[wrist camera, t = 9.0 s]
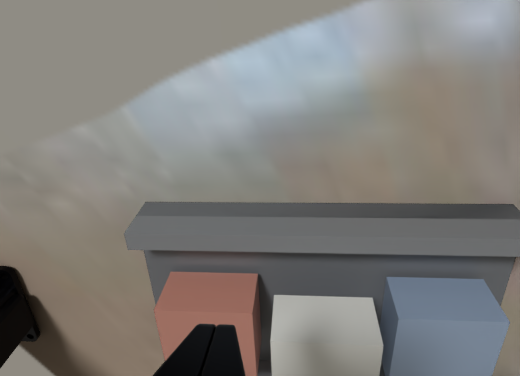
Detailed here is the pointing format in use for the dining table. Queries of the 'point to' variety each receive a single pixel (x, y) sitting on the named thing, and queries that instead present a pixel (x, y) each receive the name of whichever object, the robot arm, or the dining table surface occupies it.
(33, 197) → the dining table surface
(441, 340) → the blue-grey square block
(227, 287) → the key red
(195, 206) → the panel
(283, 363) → the off-white square block
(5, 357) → the robot arm
